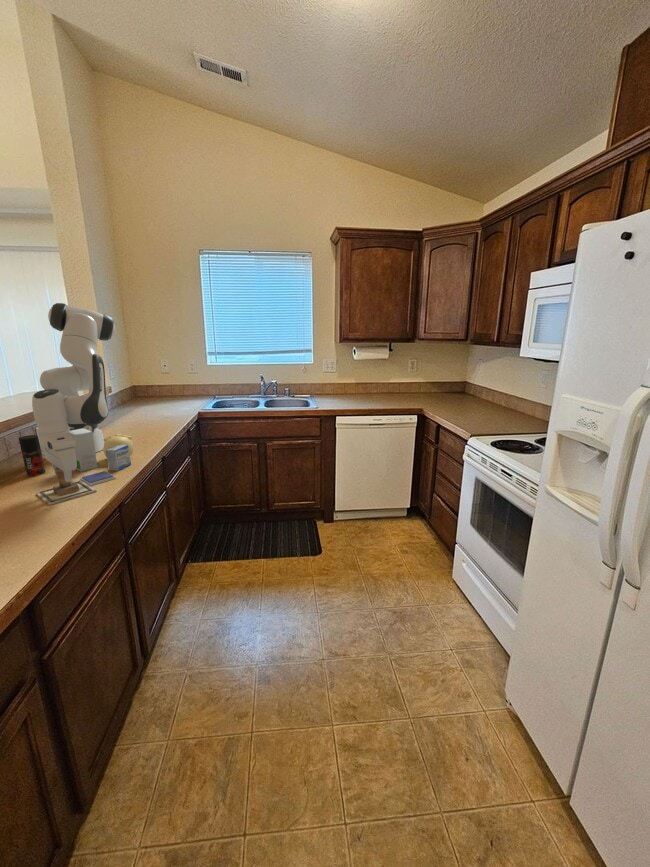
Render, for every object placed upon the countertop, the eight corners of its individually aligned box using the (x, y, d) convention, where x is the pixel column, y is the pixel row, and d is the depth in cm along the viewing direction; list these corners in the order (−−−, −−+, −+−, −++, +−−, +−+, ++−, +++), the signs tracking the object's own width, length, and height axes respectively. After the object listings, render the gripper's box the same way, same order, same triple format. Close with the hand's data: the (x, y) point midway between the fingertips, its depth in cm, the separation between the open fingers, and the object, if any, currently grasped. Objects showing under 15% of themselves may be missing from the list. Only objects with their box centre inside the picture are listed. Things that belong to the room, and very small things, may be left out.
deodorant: (25, 477, 147) (16, 440, 143) (28, 472, 152) (20, 436, 148) (44, 474, 150) (36, 437, 146) (46, 469, 155) (39, 434, 151)
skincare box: (72, 467, 157) (65, 431, 153) (89, 463, 162) (83, 427, 158) (82, 472, 152) (74, 434, 148) (99, 467, 157) (92, 430, 153)
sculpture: (136, 452, 175) (132, 430, 172) (132, 461, 164) (128, 437, 161) (108, 455, 172) (104, 432, 169) (102, 464, 161) (98, 439, 158)
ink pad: (80, 480, 144) (79, 477, 143) (105, 473, 150) (105, 470, 150) (89, 485, 138) (89, 482, 138) (115, 478, 145) (115, 475, 145)
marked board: (36, 494, 132) (35, 491, 131) (81, 482, 142) (81, 479, 142) (49, 505, 123) (48, 503, 123) (96, 491, 133) (96, 489, 133)
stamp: (53, 491, 132) (48, 467, 130) (73, 486, 136) (68, 463, 134) (59, 496, 128) (54, 471, 126) (79, 490, 133) (74, 466, 130)
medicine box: (118, 471, 153) (114, 450, 150) (108, 470, 154) (105, 449, 151) (131, 464, 160) (128, 444, 158) (122, 463, 161) (119, 444, 159)
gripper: (34, 435, 131) (43, 473, 135) (54, 446, 119) (63, 487, 122) (56, 432, 136) (63, 468, 140) (77, 442, 123) (84, 481, 127)
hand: (63, 477), depth 131 cm, fingers open, 8 cm apart
